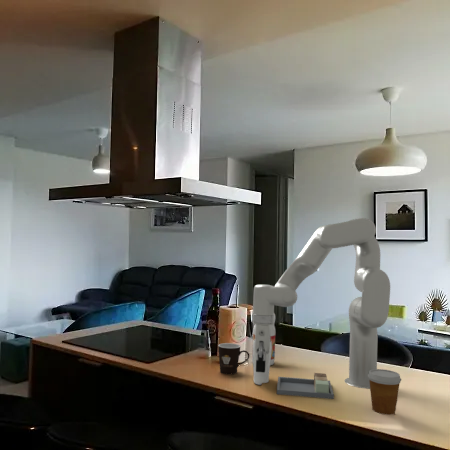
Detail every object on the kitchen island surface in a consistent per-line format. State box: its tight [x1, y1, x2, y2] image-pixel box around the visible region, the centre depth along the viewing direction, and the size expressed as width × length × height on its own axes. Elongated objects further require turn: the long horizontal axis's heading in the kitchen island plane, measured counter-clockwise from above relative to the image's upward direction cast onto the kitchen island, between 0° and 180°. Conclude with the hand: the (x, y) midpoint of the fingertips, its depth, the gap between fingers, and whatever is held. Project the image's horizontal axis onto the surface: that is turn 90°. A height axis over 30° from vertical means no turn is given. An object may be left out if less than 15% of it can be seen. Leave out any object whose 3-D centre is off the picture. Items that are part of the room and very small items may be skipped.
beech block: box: [315, 376, 329, 383], centre depth 150 cm, size 4×4×4 cm
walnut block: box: [313, 372, 328, 388], centre depth 154 cm, size 4×4×4 cm
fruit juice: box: [251, 312, 276, 366], centre depth 187 cm, size 9×9×28 cm
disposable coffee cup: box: [368, 368, 402, 416], centre depth 134 cm, size 10×10×12 cm
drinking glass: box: [252, 339, 272, 386], centre depth 159 cm, size 7×7×15 cm
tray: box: [276, 376, 335, 400], centre depth 151 cm, size 18×15×2 cm
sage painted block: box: [315, 380, 329, 393], centre depth 145 cm, size 4×4×4 cm
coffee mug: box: [217, 342, 250, 375], centre depth 171 cm, size 12×9×10 cm
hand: (261, 368), depth 159 cm, fingers open, 8 cm apart
